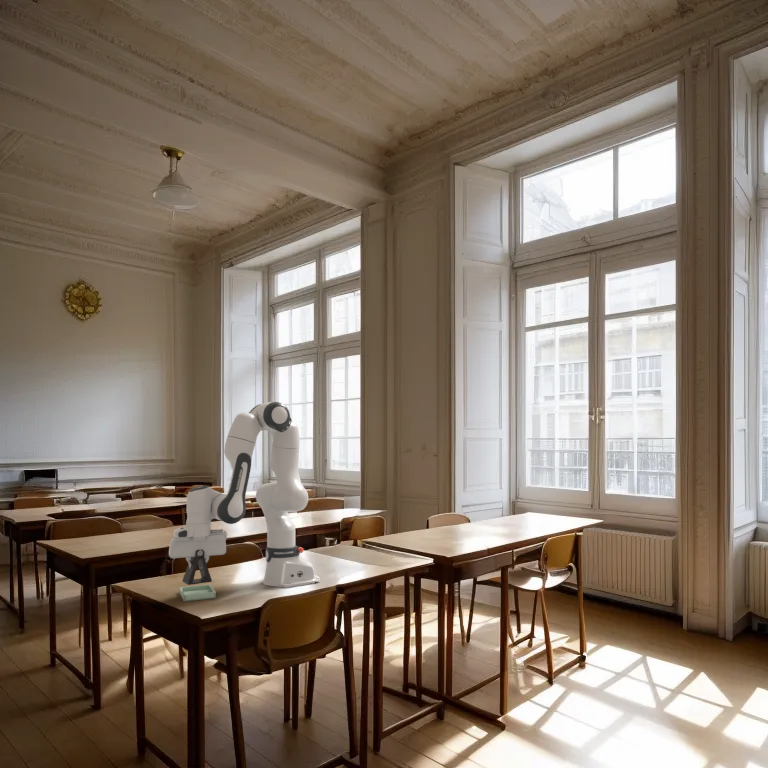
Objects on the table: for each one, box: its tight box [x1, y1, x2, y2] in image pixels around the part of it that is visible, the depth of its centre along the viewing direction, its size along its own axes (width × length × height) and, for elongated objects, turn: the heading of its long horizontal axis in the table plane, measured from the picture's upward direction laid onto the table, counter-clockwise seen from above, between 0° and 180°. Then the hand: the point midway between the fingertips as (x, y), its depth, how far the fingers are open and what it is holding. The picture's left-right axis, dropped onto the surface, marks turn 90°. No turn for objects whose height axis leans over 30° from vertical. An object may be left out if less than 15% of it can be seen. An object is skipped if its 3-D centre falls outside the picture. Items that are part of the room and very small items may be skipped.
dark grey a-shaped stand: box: [182, 549, 213, 586], centre depth 235 cm, size 9×6×12 cm, turn 125°
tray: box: [179, 583, 217, 603], centre depth 235 cm, size 11×13×2 cm
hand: (197, 568), depth 235 cm, fingers closed on dark grey a-shaped stand, 3 cm apart
